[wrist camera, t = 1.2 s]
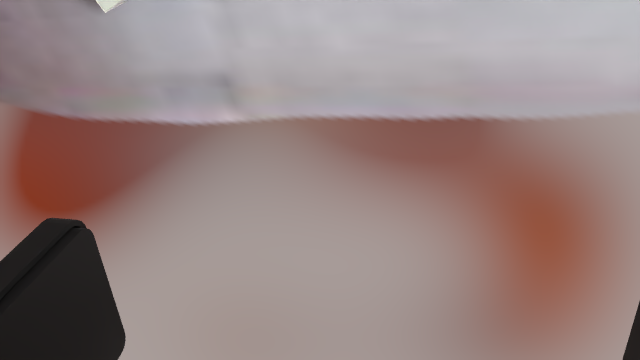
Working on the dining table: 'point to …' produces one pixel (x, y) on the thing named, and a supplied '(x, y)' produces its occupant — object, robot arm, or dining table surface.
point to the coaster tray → (109, 4)
